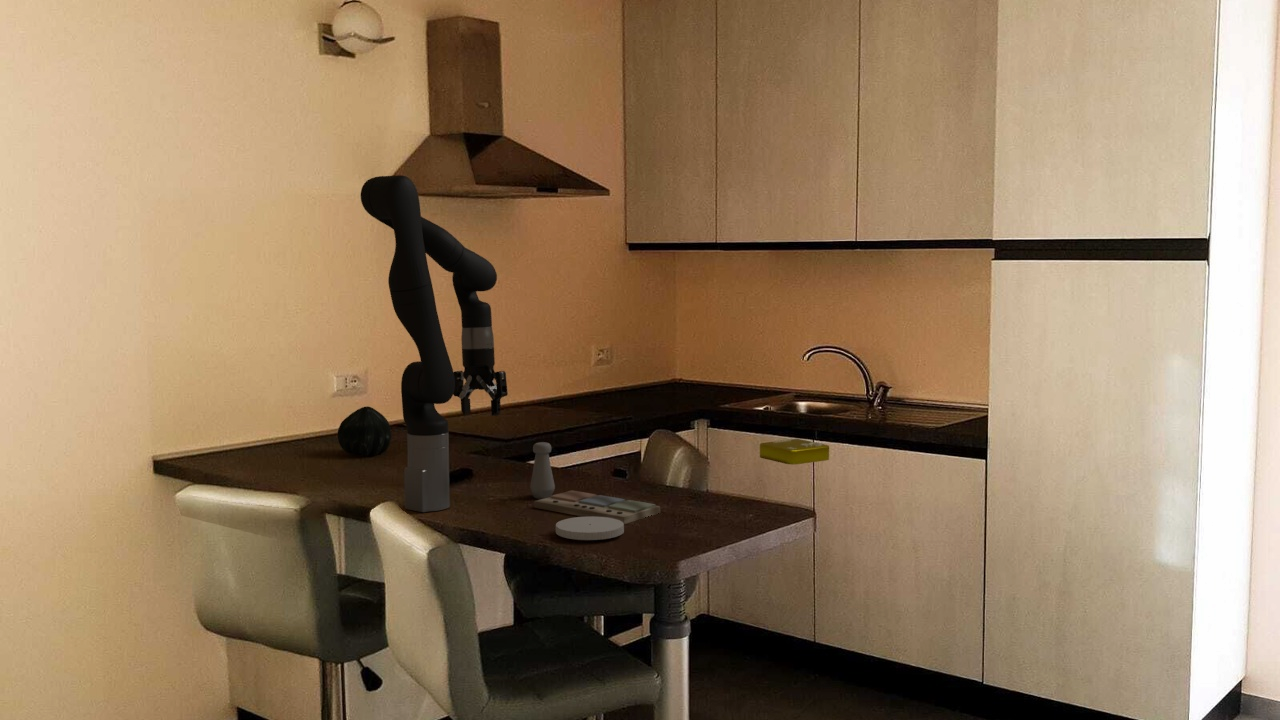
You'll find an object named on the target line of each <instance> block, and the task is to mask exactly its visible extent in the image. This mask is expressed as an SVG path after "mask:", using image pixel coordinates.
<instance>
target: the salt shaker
mask: <svg viewBox="0 0 1280 720" xmlns="http://www.w3.org/2000/svg"><path fill="white" fill-rule="evenodd" d="M532 451H533V453H534V456H535V457H534V462H533V468H532V473H531V479H530V490H531V494H532V496H533V498H535V499H538V500H541V499H545V498H548V497H551V496H552V495H553V493H554V491H555V488H556V485H555V481H554V476H553V471H552V466H551V460H550V453H551V452H552V445H551V444H550V443H549V442H544V441H541V442H536V443H534V444H533V446H532Z"/></svg>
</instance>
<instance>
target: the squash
mask: <svg viewBox="0 0 1280 720" xmlns="http://www.w3.org/2000/svg"><path fill="white" fill-rule="evenodd" d="M337 440H338V443H339V445H340V448H342V449H341V450H343V451H344V452H346V453H348V454H351V455H352V454H354V455H361V456H362V457H367V456H371V457H375V456H377V455H381V454H383V453H385V452H386V451H387V449H389V447H390V444H391V442H392V431H391V424H390V423H389V421H388V419H387V418H386V417H385V416H384V414H383V413H381V412H379V411H377V410H376V409H375V408H374V407H371V406H369V405H368V406H362V407H361V408H358V409H356V410H355V411H352V413H350V414H349V415H348V416H346V417H345V418H344V419H343V420H342V421H341V422H340V424H339V427H338V429H337Z"/></svg>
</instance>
